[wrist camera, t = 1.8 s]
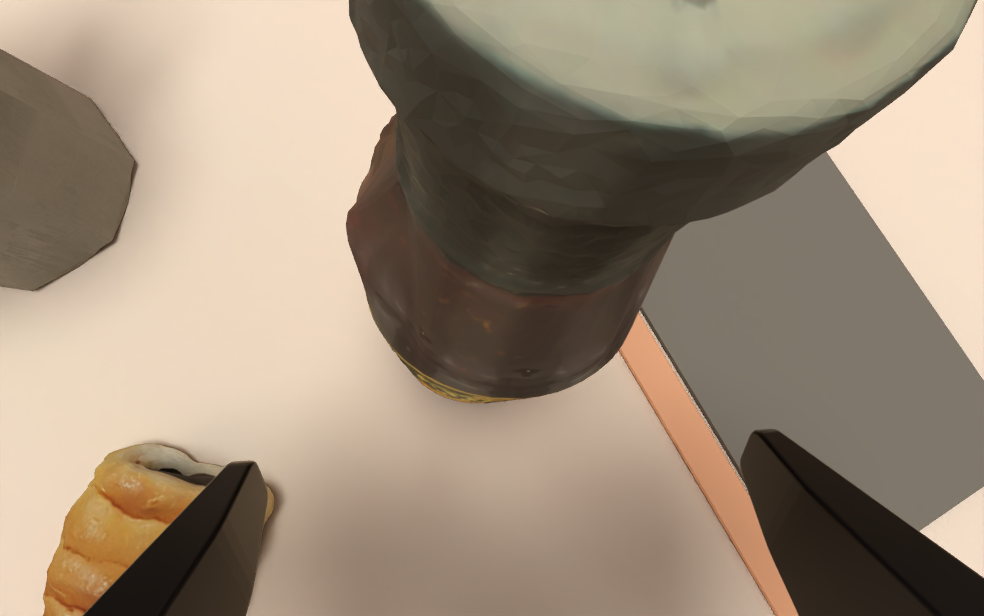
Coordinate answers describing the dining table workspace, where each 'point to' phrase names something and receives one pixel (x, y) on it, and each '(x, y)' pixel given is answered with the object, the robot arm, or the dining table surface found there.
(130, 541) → the pastry
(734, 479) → the terracotta line
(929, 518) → the charcoal mat
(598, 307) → the sauce bottle
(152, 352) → the dining table surface
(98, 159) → the coffeepot
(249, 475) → the robot arm
